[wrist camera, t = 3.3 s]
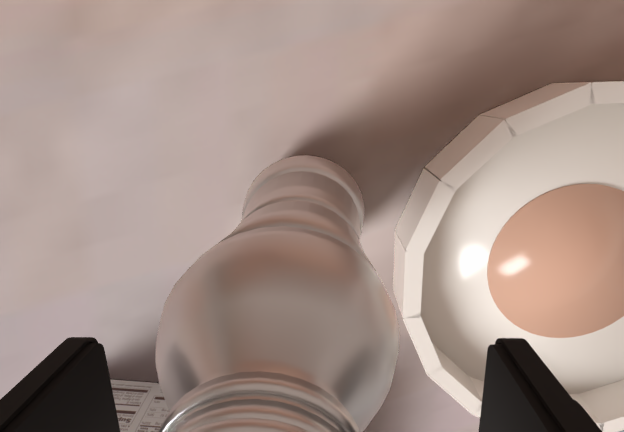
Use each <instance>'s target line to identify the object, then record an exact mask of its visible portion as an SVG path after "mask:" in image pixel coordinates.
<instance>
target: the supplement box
mask: <svg viewBox="0 0 624 432" xmlns="http://www.w3.org/2000/svg"><path fill="white" fill-rule="evenodd" d="M110 381H111V386H112V391H113V396H114V401H115V406H116V412H117V417H118V422H119V427H120V432H159V430H160V428H161V426H162V424H163V422H164V420H165V418H166V417H167V415H168V413H169V412H170V411H169V409H168V407H167V404H166V401H165V398H164V395H163V392H162V390H161V387H160V384H159V383H151V382H138V381H124V380H111V379H110Z"/></svg>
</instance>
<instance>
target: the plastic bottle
mask: <svg viewBox="0 0 624 432" xmlns="http://www.w3.org/2000/svg"><path fill="white" fill-rule="evenodd" d="M363 221H364V201H363V197H362V193H361V191H360V189H359V187H358V185H357V183H356V181H355V180H354V179H353V178H352V176H351V175H350V174H349V173H348V172H347V171H346V170H345V169H343V168H342V167H341V166H340V165H338V164H336V163H334V162H332V161H330V160H328V159H325V158H321V157H318V156H310V155H301V156H292V157H288V158H285V159H281V160H279V161H277V162H275V163H273V164H271V165H270V166H269V167H267V168H266V169H265V170H263V171H262V172H261V173H260V174H259V175H258V176H257V178H256V179H255V180H254V181H253V183H252V185H251V186H250V188H249V190H248V192H247V196H246V199H245V202H244V206H243V212H242V220H241V223H240V224H239V225H238V227H237V228H236V229H235V230H234V231H233V232H232V233H231V234H230V235H228V236H227V237H226V238H224V239H223V240H222V241H220V242H219V243H218V244H216V245H215V246H214V247H212V248H211V249H210V250H208V251H207V252H206V253H204V254H203V255H202V256H201V257H200V258H199V259H198V260H197V261H196V262H195V263H194V264H193V265H192V266H191V267H190V268H189V269H188V270H187V271H186V272H185V273H184V275H183V276H182V277H181V278H180V279H179V280H178V281H177V283H176V284H175V285H174V287H173V289H172V291H171V293H170V295H169V296H168V298H167V300H166V302H165V305H164V308H163V312H162V316H161V319H160V323H159V329H158V334H157V340H156V353H155V365H156V370H157V375H158V380H159V384H160V387H161V390H162V392H163V395H164V398H165V401H166V404H167V407H168V409H169V411H170V412H169V413H168V415H167V417H166V418H165V420H164V422H163V424H162V426H161V428H160V430H159V432H363V431H364V430H365V429H366V427H367V426H368V425H369V423H370V422H371V420H372V419H373V418H374V416H375V415H376V413H377V412H378V411H379V409H380V408H381V406H382V405H383V403H384V401H385V399H386V397H387V395H388V393H389V390H390V388H391V384H392V380H393V376H394V372H395V367H396V362H397V357H398V353H399V324H398V320H397V316H396V312H395V308H394V306H393V304H392V302H391V299H390V297H389V294H388V292H387V290H386V288H385V286H384V284H383V282H382V280H381V278H380V276H379V275H378V273H377V272H376V270H375V269H374V267H373V266H372V264H371V263H370V261H369V259H368V258H367V256H366V255H365V253H364V252H363V249H362V246H361V243H360V235H361V232H362V227H363Z"/></svg>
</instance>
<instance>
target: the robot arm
mask: <svg viewBox="0 0 624 432" xmlns="http://www.w3.org/2000/svg"><path fill="white" fill-rule="evenodd" d="M0 432H120V427H119V422H118V417H117V412H116V406H115V401H114V396H113V391H112V386H111V381H110V376H109V371H108V366H107V361H106V356H105V351H104V347H103V345H102V344H98V342H97V340H96V339H95V338H93V337H71V338H68V339H66V340H65V341H64V342H63V343H61V344H60V345H59V346H58V347H57V348H56V349H55V350H54V351H53V352H52V353H51V354H50V355H48V356H47V357H46V358H45V359H44V360H43V361H42V362H41V363H40V364H39V365H38V366H36V367H35V368H34V369H33V370H32V371H31V372H30V373H29V374H28V375H27V376H26V377H24V378H23V379H22V380H21V381H20V382H19V383H18V384H17V385H16V386H15V387H14V388H13V389H11V390H10V391H9V392H8V393H7V394H6V395H5V396H4V397H3V398H2V399H1V400H0ZM479 432H602V431H601V429H600V428H599V427H598V426H597V424H596V423H595V422H594V421H593V419H592V418H591V417H590V416H589V414H588V413H587V412H586V411H585V409H584V408H583V407H582V406H581V405H580V404H579V403H578V402H577V401H576V400H574V399H572V398H571V396H570V395H569V394H568V392H567V391H566V390H565V389H564V387H563V386H562V385H561V384H560V382H559V381H558V380H557V379H556V377H555V376H554V375H553V373H552V372H551V371H550V370H549V368H548V367H547V366H546V365H545V363H544V362H543V361H542V360H541V358H540V357H539V356H538V355H537V353H536V352H535V351H534V349H533V348H532V347H531V346H530V344H529V343H528V342H527V341H526V340H525V339H523V338H498V339H497V340H496V342H495V344H490V345H489V346H488V350H487V359H486V368H485V378H484V387H483V397H482V406H481V416H480V425H479Z"/></svg>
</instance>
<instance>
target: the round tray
mask: <svg viewBox="0 0 624 432" xmlns="http://www.w3.org/2000/svg"><path fill="white" fill-rule="evenodd" d="M425 168H426V169H425ZM425 168H423V170H422V173H421V175H420V177H419V179H418V181H417V183H416V185H415V187H414V190H413V192H412V194H411V196H410V198H409V200H408V202H407V204H406V207H405V209H404V211H403V213H402V215H401V217H400V219H399V221H398V224H397V226H396V228H395V238H394V269H393V292H394V295H395V298H396V301H397V304H398V307H399V310H400V312H401V315H402V318H403V321H404V323H405V325H406V328H407V330H408V332H409V335H410V337H411V339H412V342H413V344H414V346H415V348H416V351H417V353H418V355H419V358H420V360H421V362H422V365H423V367H424V369H425V372H426V374H427V375H428V377H430V378H431V379H432V380H433V381H434V382H435V383H436V384H438V385H439V386H440V387H441V388H442V389H443V390H444V391H446V392H447V393H448V394H449V395H450V396H451V397H452V398H454V399H455V400H456V401H457V402H458V403H459V404H460V405H462V406H463V407H464V408H465V409H466V410H467V411H468V412H470V413H471V414H472V415H474V416H476V417H479V418H480V416H481V406H482V397H483V387H484V378H485V368H486V359H487V350H488V346H489V345H490V344H495V342H496V340H497V339H498V338H523V339H525V340H526V341H527V342H528V343H529V344H530V346H531V347H532V348H533V349H534V351H535V352H536V353H537V355H538V356H539V357H540V358H541V360H542V361H543V362H544V363H545V365H546V366H547V367H548V368H549V370H550V371H551V372H552V373H553V375H554V376H555V377H556V379H557V380H558V381H559V382H560V384H561V385H562V386H563V387H564V389H565V390H566V391H567V392H568V394H569V395H570V396H571V398H572V399H574V400H576V401H577V402H578V403H579V404H580V405H581V406H582V407H583V408H584V409H585V411H586V412H587V413H588V414H589V416H590V417H591V418H592V419H593V421H594V422H595V423H596V424H597V426H598V427H599V428H600V429H601V431H602V432H618V431H621V430H624V81H606V82H573V83H551V84H549V85H547V86H544V87H542V88H540V89H538V90H535V91H533V92H531V93H528V94H526V95H524V96H521V97H519V98H517V99H514V100H512V101H510V102H507V103H505V104H503V105H500V106H498V107H496V108H493V109H491V110H489V111H487V112H484V113H482V114H480V115H478V116H477V117H476V118H475V119H474V120H473V121H472V122H471V123H470V124H469V125H468V126H467V127H466V128H465V129H464V130H463V131H461V132H460V133H459V134H458V135H457V136H456V137H455V138H454V139H453V140H452V141H451V142H450V143H449V144H448V145H447V146H446V147H445V148H444V149H443V150H442V151H441V152H439V153H438V154H437V155H436V156H435V157H434V158H433V159H432V160H431V161H430V162H429V163H428V164H427V165H426V166H425Z"/></svg>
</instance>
